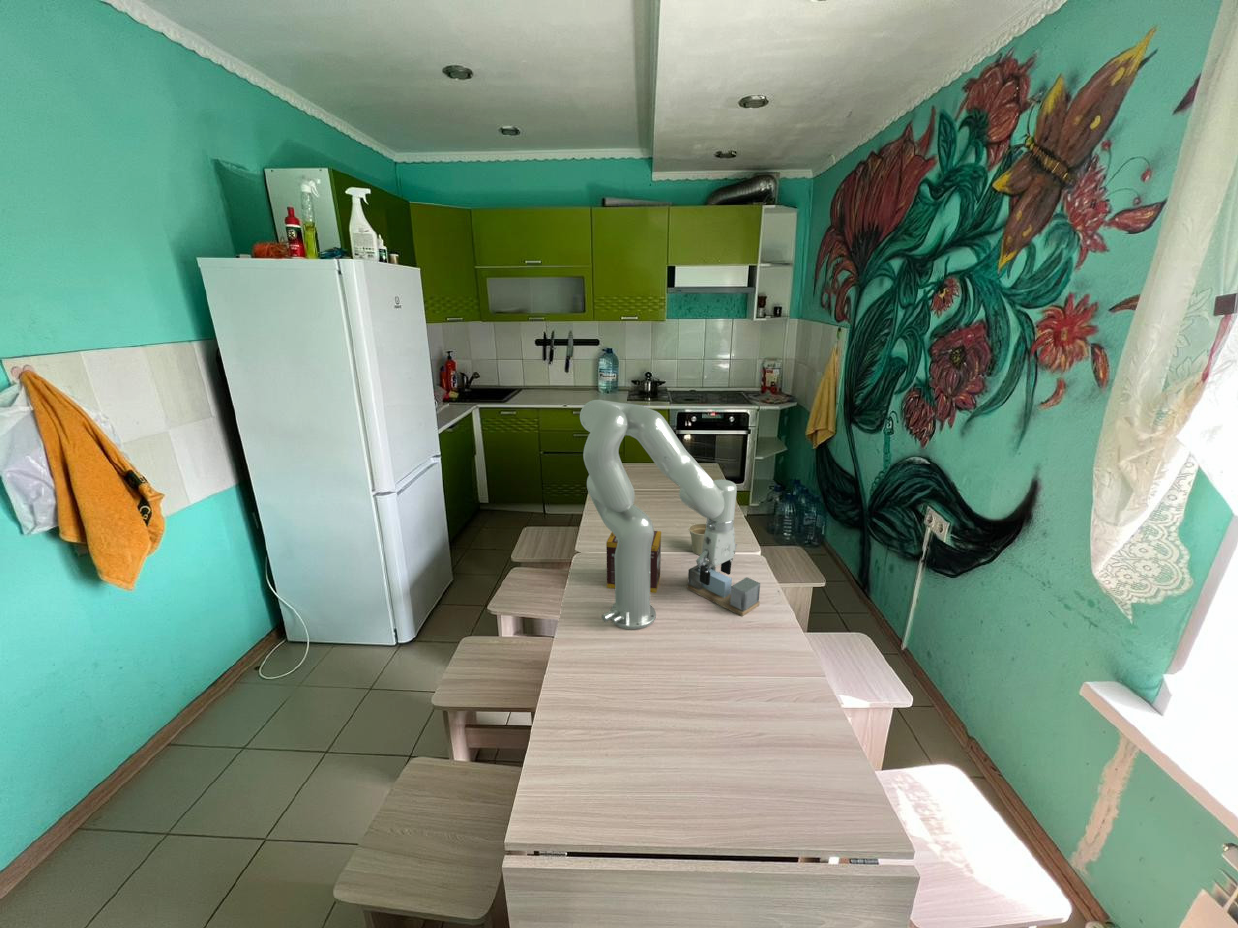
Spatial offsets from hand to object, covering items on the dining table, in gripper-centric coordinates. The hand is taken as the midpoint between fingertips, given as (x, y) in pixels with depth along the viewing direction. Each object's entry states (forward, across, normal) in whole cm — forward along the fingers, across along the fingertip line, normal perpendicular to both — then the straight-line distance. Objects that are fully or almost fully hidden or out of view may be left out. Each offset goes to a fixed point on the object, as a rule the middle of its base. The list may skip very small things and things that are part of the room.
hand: (715, 577), depth 151 cm
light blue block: (+4, +1, +1) cm, 5 cm away
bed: (+6, +1, -2) cm, 6 cm away
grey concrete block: (+4, +1, -10) cm, 11 cm away
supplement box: (+7, -12, +21) cm, 25 cm away
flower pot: (+5, +19, +20) cm, 28 cm away
